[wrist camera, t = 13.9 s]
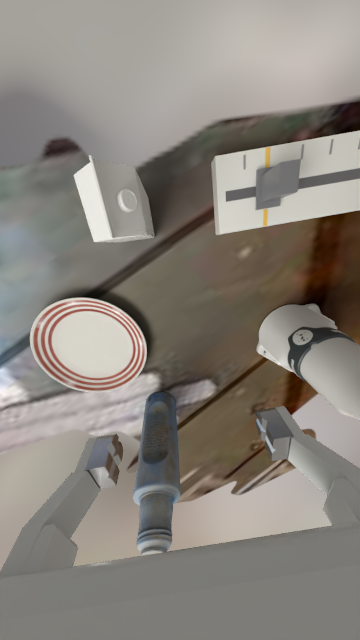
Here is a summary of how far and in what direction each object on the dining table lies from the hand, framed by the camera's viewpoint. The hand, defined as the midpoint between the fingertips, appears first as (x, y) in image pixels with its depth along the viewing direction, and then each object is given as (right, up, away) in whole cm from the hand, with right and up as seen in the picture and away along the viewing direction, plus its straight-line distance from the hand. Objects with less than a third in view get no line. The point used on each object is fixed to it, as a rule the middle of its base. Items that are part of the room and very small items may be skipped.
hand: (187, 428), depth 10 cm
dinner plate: (-23, 0, +36) cm, 43 cm away
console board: (+21, +32, +24) cm, 46 cm away
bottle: (-6, -20, +46) cm, 51 cm away
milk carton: (-10, +26, +25) cm, 38 cm away
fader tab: (+15, +30, +21) cm, 40 cm away
